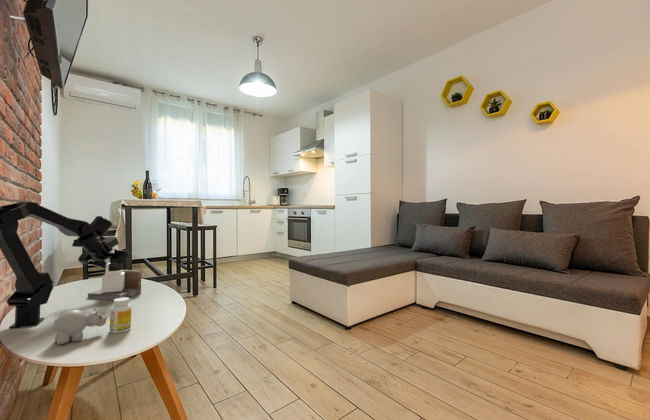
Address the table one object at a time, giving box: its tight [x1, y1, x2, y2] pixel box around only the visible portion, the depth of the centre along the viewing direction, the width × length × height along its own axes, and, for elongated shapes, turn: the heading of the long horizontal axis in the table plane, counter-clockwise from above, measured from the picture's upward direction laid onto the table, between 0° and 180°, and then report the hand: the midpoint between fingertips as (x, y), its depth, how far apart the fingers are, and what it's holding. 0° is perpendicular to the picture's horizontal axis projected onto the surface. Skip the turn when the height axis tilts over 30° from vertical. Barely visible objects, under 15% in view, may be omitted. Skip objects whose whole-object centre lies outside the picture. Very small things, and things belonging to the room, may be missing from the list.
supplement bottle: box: [109, 297, 132, 334], centre depth 91 cm, size 5×5×10 cm
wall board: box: [87, 269, 143, 301], centre depth 127 cm, size 12×15×10 cm
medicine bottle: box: [101, 262, 125, 293], centre depth 127 cm, size 7×7×12 cm
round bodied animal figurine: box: [53, 308, 109, 345], centre depth 85 cm, size 7×12×8 cm, turn 136°
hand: (115, 268), depth 127 cm, fingers closed on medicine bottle, 6 cm apart
